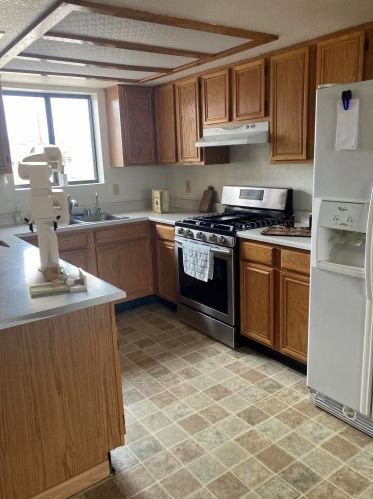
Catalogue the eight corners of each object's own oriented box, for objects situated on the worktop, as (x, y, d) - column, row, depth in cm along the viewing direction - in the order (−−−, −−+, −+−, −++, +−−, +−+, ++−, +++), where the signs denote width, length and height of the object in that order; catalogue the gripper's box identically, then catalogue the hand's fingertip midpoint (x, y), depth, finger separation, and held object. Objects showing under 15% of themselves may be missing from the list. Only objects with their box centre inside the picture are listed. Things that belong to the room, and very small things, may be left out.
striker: (51, 284, 183) (49, 265, 181) (58, 283, 184) (56, 264, 182) (52, 288, 177) (50, 268, 175) (59, 287, 178) (58, 267, 176)
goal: (64, 284, 189) (62, 267, 187) (81, 282, 192) (80, 265, 190) (68, 293, 176) (66, 275, 175) (87, 290, 179) (85, 272, 178)
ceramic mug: (42, 282, 194) (41, 266, 192) (45, 277, 202) (44, 262, 200) (66, 280, 196) (64, 265, 194) (67, 276, 204) (66, 261, 202)
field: (30, 289, 183) (29, 284, 182) (64, 284, 188) (64, 280, 188) (31, 297, 171) (31, 292, 171) (68, 292, 177) (67, 287, 176)
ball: (73, 276, 185) (74, 285, 186) (64, 278, 183) (65, 287, 184) (74, 279, 181) (76, 287, 182) (65, 281, 180) (67, 289, 181)
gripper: (59, 190, 184) (62, 228, 188) (18, 193, 177) (22, 231, 181) (61, 192, 177) (65, 231, 181) (19, 194, 170) (23, 234, 174)
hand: (43, 231), depth 181 cm, fingers open, 9 cm apart
